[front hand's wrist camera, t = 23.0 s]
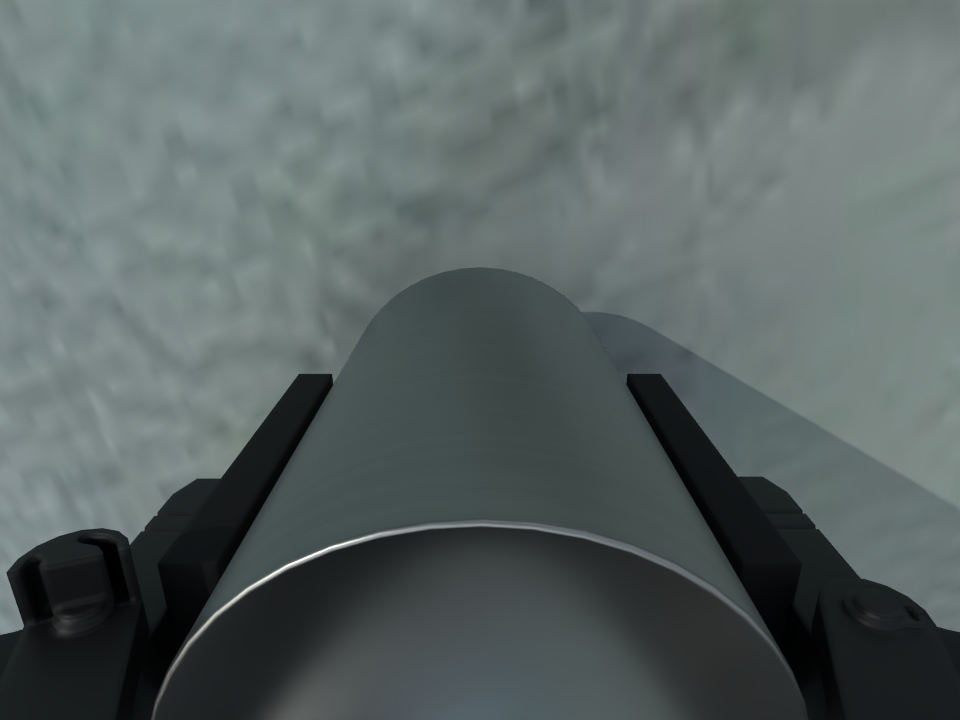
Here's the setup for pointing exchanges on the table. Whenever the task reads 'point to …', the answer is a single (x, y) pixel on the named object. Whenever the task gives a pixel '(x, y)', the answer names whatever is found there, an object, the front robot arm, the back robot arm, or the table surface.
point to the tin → (479, 543)
